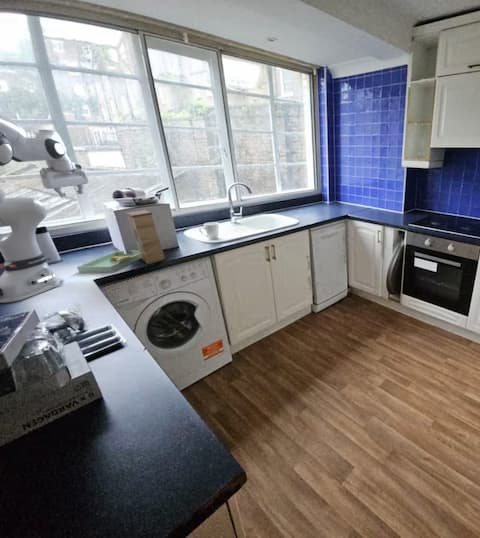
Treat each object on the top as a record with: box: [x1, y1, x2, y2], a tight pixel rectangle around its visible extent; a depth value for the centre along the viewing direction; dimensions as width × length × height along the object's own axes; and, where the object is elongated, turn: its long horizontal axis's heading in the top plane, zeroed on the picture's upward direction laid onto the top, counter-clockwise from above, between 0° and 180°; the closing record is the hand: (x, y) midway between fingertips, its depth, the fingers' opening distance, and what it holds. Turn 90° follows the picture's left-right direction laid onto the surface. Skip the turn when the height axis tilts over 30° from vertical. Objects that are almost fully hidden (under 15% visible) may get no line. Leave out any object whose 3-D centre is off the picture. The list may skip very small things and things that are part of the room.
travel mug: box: [35, 225, 62, 265], centre depth 157 cm, size 6×7×20 cm
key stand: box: [125, 209, 166, 265], centre depth 155 cm, size 11×9×26 cm
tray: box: [76, 250, 142, 273], centre depth 156 cm, size 24×18×3 cm
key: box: [110, 256, 131, 262], centre depth 156 cm, size 18×5×1 cm, turn 55°
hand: (72, 195), depth 149 cm, fingers open, 8 cm apart
